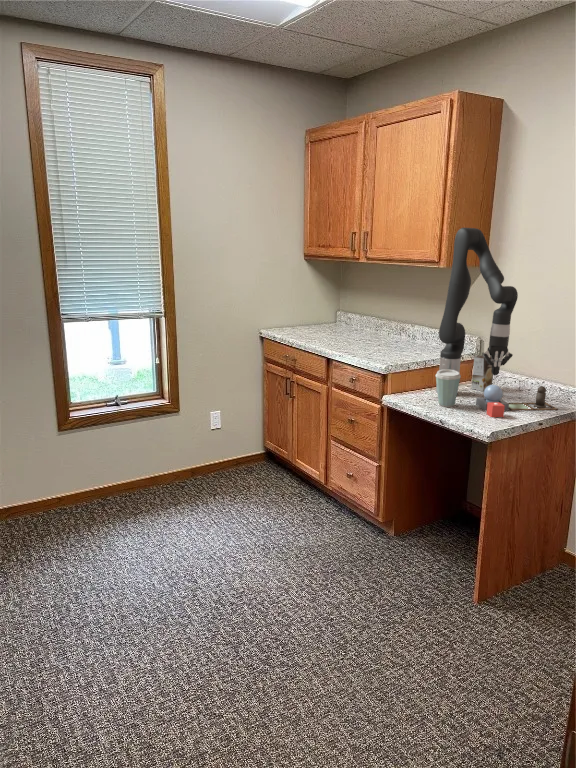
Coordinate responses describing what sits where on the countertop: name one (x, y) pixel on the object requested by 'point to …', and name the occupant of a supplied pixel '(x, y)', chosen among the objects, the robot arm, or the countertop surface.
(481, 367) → the coffee box
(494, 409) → the die
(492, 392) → the pale blue sphere
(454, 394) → the disposable coffee cup
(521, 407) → the window frame
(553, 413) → the countertop surface
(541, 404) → the pawn
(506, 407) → the housing
